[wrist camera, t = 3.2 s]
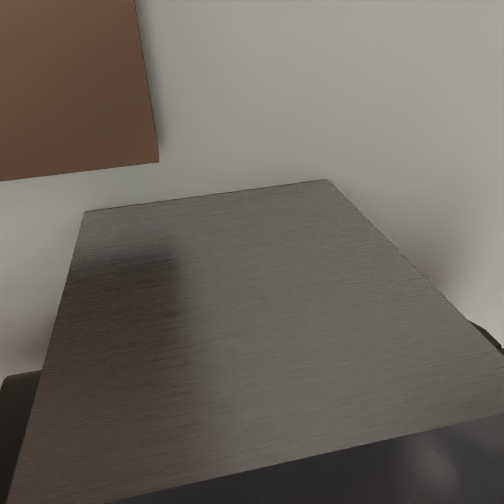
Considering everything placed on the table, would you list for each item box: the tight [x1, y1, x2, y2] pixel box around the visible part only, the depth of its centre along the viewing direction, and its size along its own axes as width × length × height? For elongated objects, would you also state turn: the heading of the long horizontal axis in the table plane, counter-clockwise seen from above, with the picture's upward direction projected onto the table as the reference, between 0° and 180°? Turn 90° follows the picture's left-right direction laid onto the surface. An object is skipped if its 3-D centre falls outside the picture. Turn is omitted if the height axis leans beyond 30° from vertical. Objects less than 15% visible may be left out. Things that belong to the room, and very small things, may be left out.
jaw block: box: [7, 180, 504, 504], centre depth 9 cm, size 6×6×7 cm
